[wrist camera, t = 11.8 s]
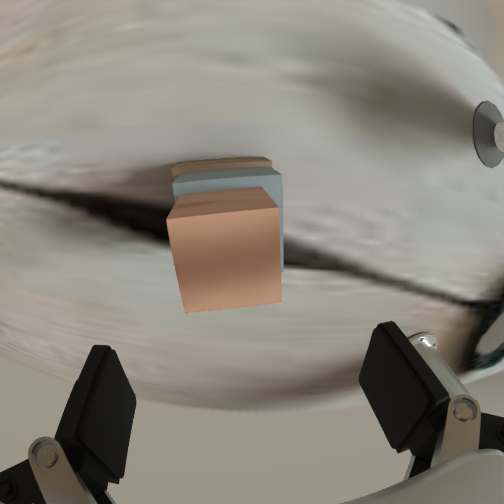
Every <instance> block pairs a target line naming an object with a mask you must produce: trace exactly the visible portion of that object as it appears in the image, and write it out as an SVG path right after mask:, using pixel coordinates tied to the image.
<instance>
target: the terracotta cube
mask: <svg viewBox="0 0 504 504" xmlns="http://www.w3.org/2000/svg"><path fill="white" fill-rule="evenodd" d="M166 221H167V227H168V233H169V239H170V244H171V249H172V255H173V260H174V265H175V270H176V275H177V279H178V284H179V289H180V293H181V298H182V302H183V306H184V311H185V313H191V312H201V311H211V310H221V309H230V308H239V307H247V306H256V305H264V304H271V303H279V302H282V299H281V251H280V219H279V207H278V206H277V204H276V203H275V202H274V201H273V199H272V198H271V197H270V196H269V195H268V193H267V192H266V191H265V190H264V189H263V187H251V188H240V189H230V190H220V191H211V192H202V193H194V194H186V195H180V196H179V198H178V199H177V201H176V203H175V205H174V206H173V208H172V210H171V212H170V214H169V215H168V217H167V219H166Z"/></svg>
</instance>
